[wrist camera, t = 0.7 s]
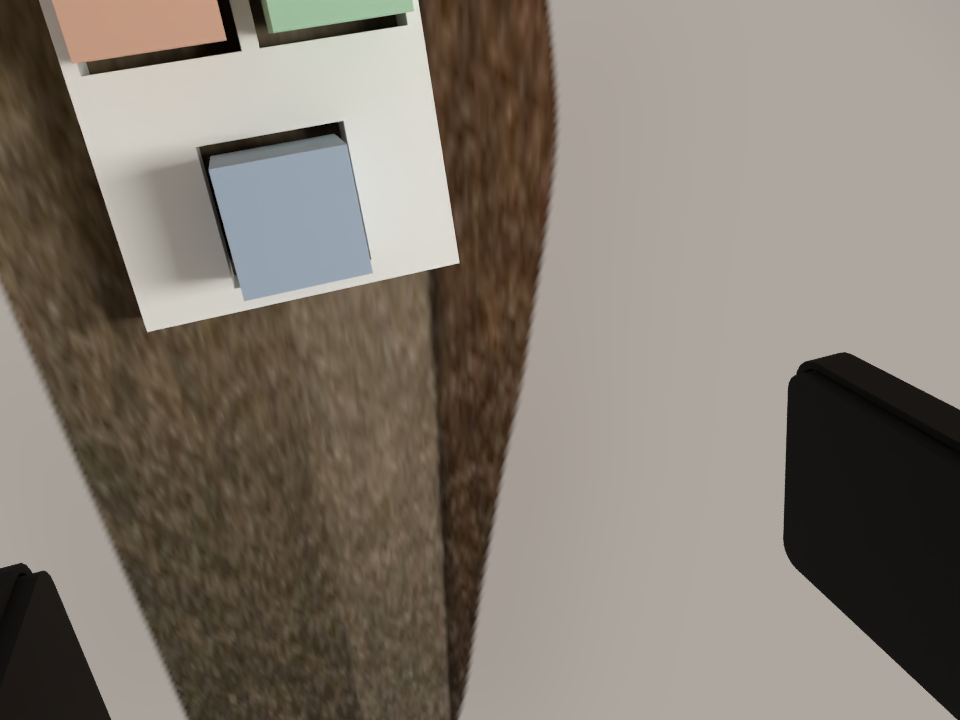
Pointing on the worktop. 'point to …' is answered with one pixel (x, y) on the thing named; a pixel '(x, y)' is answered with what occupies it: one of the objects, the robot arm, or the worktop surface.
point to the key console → (249, 113)
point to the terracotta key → (135, 26)
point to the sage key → (326, 12)
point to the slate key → (291, 215)
